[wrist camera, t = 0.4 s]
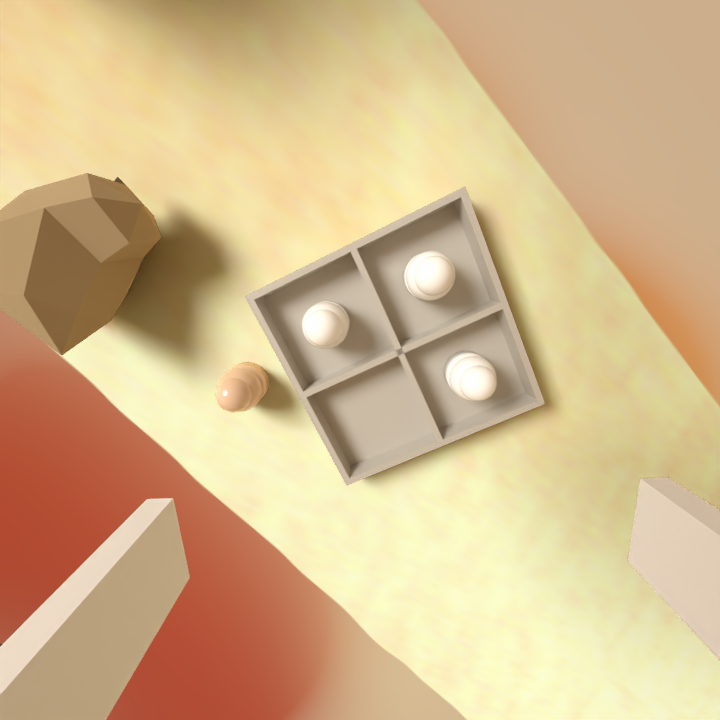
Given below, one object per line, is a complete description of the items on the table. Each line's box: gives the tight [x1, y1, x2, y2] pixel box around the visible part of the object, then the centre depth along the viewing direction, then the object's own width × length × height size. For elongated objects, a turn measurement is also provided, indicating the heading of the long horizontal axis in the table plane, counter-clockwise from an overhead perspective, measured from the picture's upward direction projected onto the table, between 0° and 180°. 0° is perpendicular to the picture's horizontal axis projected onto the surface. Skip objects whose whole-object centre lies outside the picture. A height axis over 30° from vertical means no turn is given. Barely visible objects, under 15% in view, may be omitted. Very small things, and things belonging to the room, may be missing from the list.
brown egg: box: [216, 362, 269, 412], centre depth 33 cm, size 4×4×6 cm
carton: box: [245, 187, 545, 485], centre depth 33 cm, size 21×21×3 cm
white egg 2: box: [403, 251, 455, 301], centre depth 29 cm, size 4×4×6 cm
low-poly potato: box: [0, 173, 161, 355], centre depth 28 cm, size 15×11×12 cm
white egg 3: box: [443, 350, 497, 401], centre depth 31 cm, size 4×4×6 cm
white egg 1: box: [302, 300, 350, 349], centre depth 30 cm, size 4×4×6 cm
